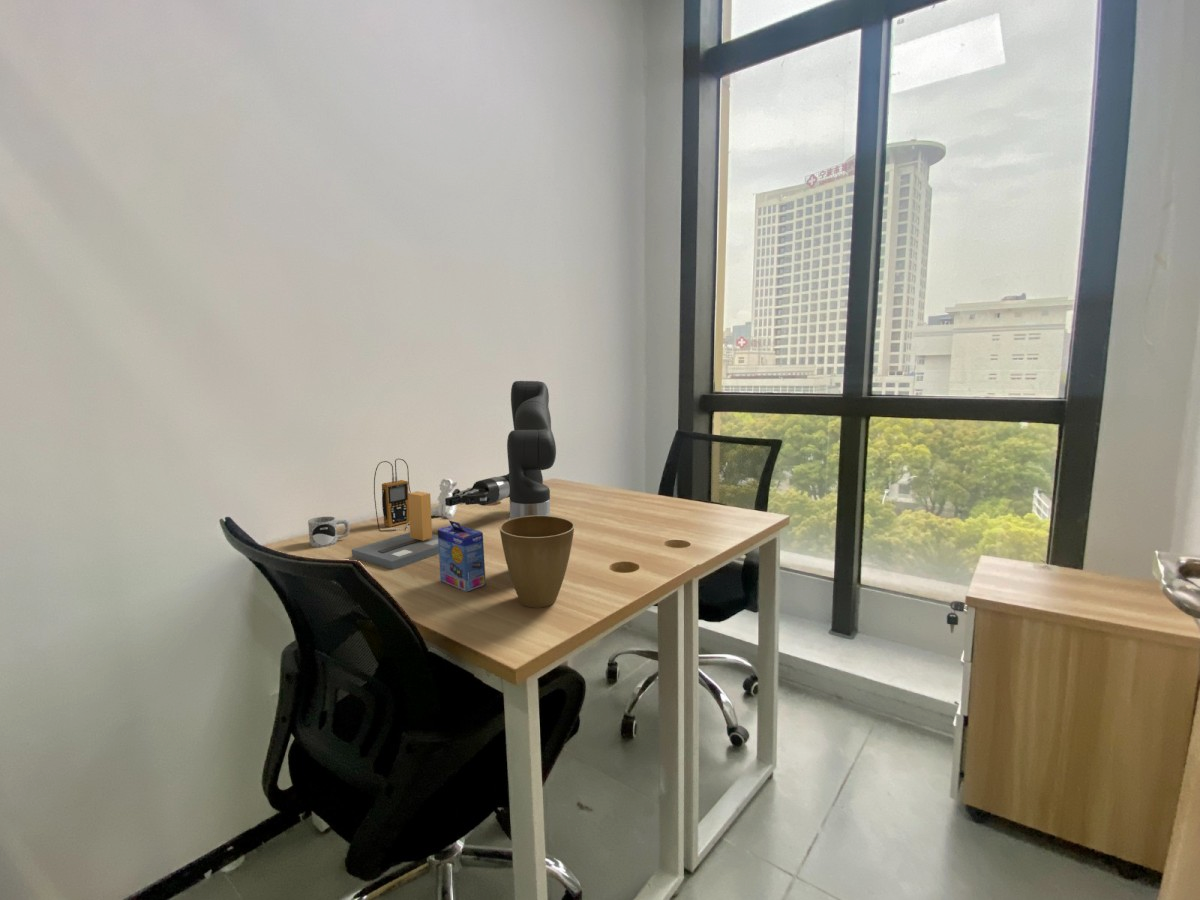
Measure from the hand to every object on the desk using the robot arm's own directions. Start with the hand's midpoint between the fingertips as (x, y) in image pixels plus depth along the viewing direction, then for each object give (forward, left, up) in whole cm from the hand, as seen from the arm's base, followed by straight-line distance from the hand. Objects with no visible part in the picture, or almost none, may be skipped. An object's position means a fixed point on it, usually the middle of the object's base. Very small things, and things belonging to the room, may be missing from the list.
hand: (447, 502), depth 155 cm
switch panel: (0, +15, -10) cm, 18 cm away
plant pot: (-48, +20, -10) cm, 53 cm away
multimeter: (+20, 0, -10) cm, 22 cm away
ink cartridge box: (-28, +22, -10) cm, 37 cm away
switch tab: (0, +10, -8) cm, 12 cm away
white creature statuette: (+20, -16, -10) cm, 28 cm away
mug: (+24, +21, -10) cm, 33 cm away
